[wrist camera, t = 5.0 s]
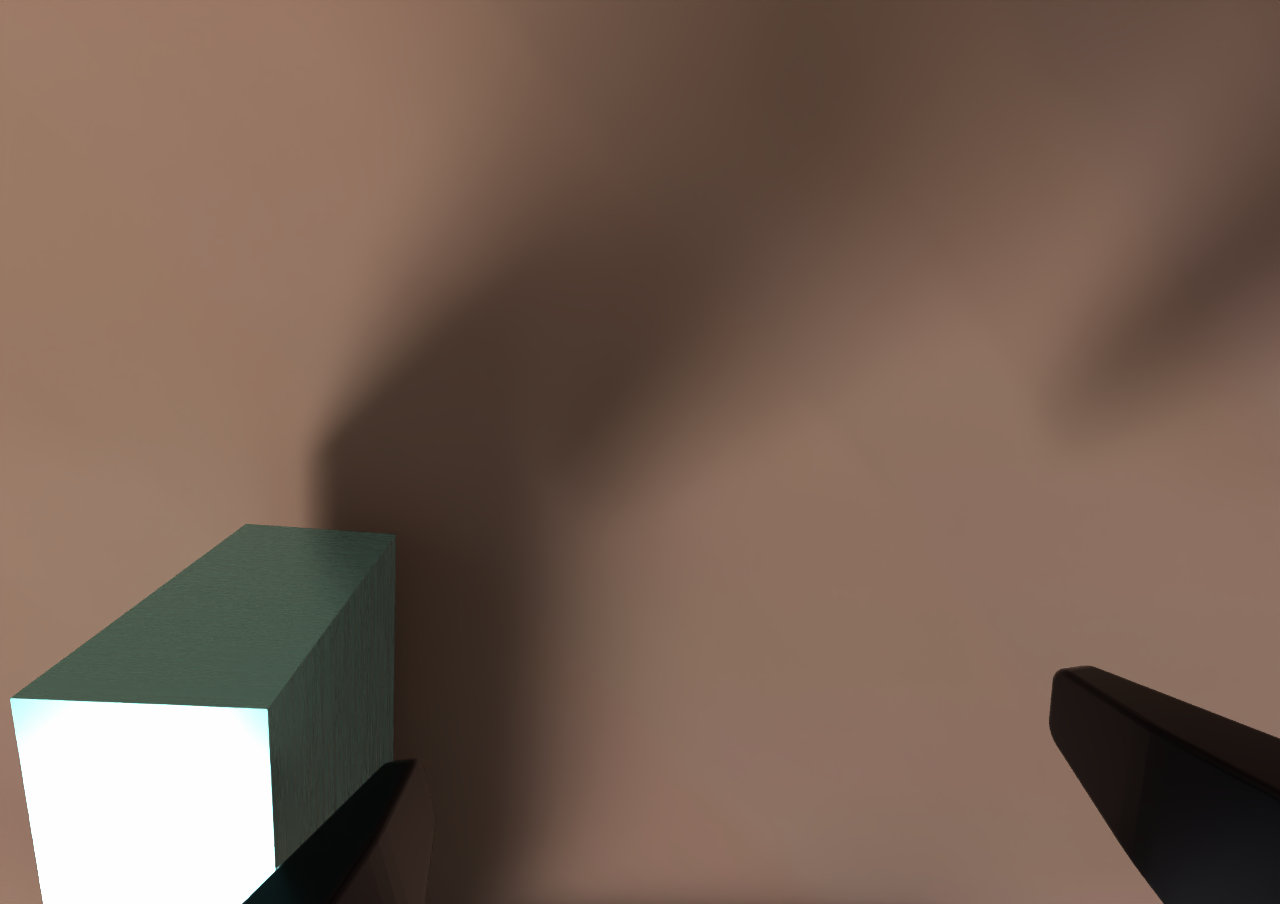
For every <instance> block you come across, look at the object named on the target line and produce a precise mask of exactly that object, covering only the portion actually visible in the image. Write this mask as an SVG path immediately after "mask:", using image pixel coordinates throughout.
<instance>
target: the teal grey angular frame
mask: <svg viewBox="0 0 1280 904" xmlns="http://www.w3.org/2000/svg"><path fill="white" fill-rule="evenodd" d="M395 556H396V534H384V533H369V532H355V531H340V530H326V529H311V528H297V527H282V526H268V525H253V524H245V525H244V526H243V527H241V528H240V529H239V530H237V531H236V532H234V533H233V534H232V535H230V536H229V537H228V538H226V539H225V540H224V541H222V542H221V543H220V544H218V545H217V546H216V547H214V548H213V549H211V550H210V551H209V552H207V553H206V554H205V555H203V556H202V557H201V558H199V559H198V560H197V561H195V562H194V563H193V564H191V565H190V566H188V567H187V568H186V569H184V570H183V571H182V572H180V573H179V574H178V575H176V576H175V577H174V578H172V579H171V580H170V581H168V582H167V583H165V584H164V585H163V586H161V587H160V588H159V589H157V590H156V591H155V592H153V593H152V594H151V595H149V596H148V597H147V598H145V599H144V600H142V601H141V602H140V603H138V604H137V605H136V606H134V607H133V608H132V609H130V610H129V611H128V612H126V613H125V614H124V615H122V616H121V617H120V618H118V619H117V620H115V621H114V622H113V623H111V624H110V625H109V626H107V627H106V628H105V629H103V630H102V631H101V632H99V633H98V634H97V635H95V636H94V637H92V638H91V639H90V640H88V641H87V642H86V643H84V644H83V645H82V646H80V647H79V648H78V649H76V650H75V651H74V652H72V653H71V654H69V655H68V656H67V657H65V658H64V659H63V660H61V661H60V662H59V663H57V664H56V665H55V666H53V667H52V668H51V669H49V670H48V671H46V672H45V673H44V674H42V675H41V676H40V677H38V678H37V679H36V680H34V681H33V682H32V683H30V684H29V685H28V686H26V687H25V688H23V689H22V690H21V691H19V692H18V693H17V694H15V695H14V696H13V697H11V698H10V700H11V706H12V713H13V719H14V725H15V731H16V737H17V743H18V749H19V755H20V762H21V768H22V774H23V780H24V786H25V792H26V798H27V804H28V811H29V817H30V823H31V829H32V835H33V841H34V847H35V853H36V860H37V866H38V872H39V878H40V884H41V890H42V896H43V902H44V904H242V903H243V902H244V901H245V900H246V899H247V898H248V897H249V896H250V895H251V894H252V893H253V892H254V891H255V890H256V889H257V888H258V887H259V886H260V885H261V884H262V883H263V882H264V881H265V880H266V879H267V878H268V877H269V876H270V875H271V874H272V873H273V872H274V871H275V870H276V869H277V868H278V867H279V866H280V865H281V864H282V863H283V862H284V861H285V860H286V859H287V858H288V857H289V856H290V855H291V854H292V853H293V852H294V851H295V850H296V849H297V848H298V847H300V846H301V845H302V844H303V843H304V842H305V841H306V840H307V839H308V838H309V837H310V836H311V835H312V834H313V833H314V832H315V831H316V830H317V829H318V828H319V827H320V826H321V825H322V824H323V823H324V822H325V821H326V820H327V819H328V818H329V817H330V816H331V815H332V814H333V813H334V812H335V811H336V810H337V809H338V808H339V807H340V806H341V805H342V804H343V803H344V802H345V801H346V800H347V799H348V798H349V797H350V796H351V795H352V794H353V793H354V792H355V791H356V790H357V789H358V788H359V787H361V786H362V785H363V784H364V783H365V782H366V781H367V780H368V779H369V778H370V777H371V776H372V775H373V774H374V773H375V772H376V771H377V770H378V769H379V768H380V767H381V766H382V765H383V764H385V763H387V762H391V761H393V732H394V644H395Z"/></svg>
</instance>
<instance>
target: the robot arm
mask: <svg viewBox="0 0 1280 904" xmlns="http://www.w3.org/2000/svg"><path fill="white" fill-rule="evenodd" d="M1049 726H1050V731H1051V735H1052V737H1053V739H1054V741H1055V743H1056V745H1057V747H1058V748H1059V750H1060V751H1061V753H1062V754H1063V756H1064V758H1065V759H1066V761H1067V762H1068V764H1069V765H1070V767H1071V769H1072V770H1073V772H1074V773H1075V775H1076V776H1077V778H1078V779H1079V781H1080V783H1081V784H1082V786H1083V787H1084V789H1085V790H1086V792H1087V793H1088V795H1089V797H1090V798H1091V800H1092V801H1093V803H1094V804H1095V806H1096V808H1097V809H1098V811H1099V812H1100V814H1101V815H1102V817H1103V818H1104V820H1105V822H1106V823H1107V825H1108V826H1109V828H1110V829H1111V831H1112V832H1113V834H1114V836H1115V837H1116V839H1117V840H1118V842H1119V843H1120V845H1121V846H1122V848H1123V849H1124V851H1125V852H1126V853H1127V855H1128V856H1129V858H1130V859H1131V861H1132V862H1133V863H1134V865H1135V866H1136V868H1137V869H1138V870H1139V872H1140V873H1141V874H1142V876H1143V877H1144V878H1145V880H1146V881H1147V882H1148V884H1149V885H1150V886H1151V888H1152V889H1153V890H1154V892H1155V893H1156V894H1157V896H1158V897H1159V898H1160V899H1161V901H1162V902H1163V903H1164V904H1280V738H1277V737H1274V736H1272V735H1269V734H1267V733H1264V732H1261V731H1259V730H1256V729H1254V728H1251V727H1249V726H1246V725H1243V724H1241V723H1238V722H1236V721H1233V720H1230V719H1228V718H1225V717H1223V716H1220V715H1218V714H1215V713H1212V712H1210V711H1207V710H1205V709H1202V708H1199V707H1197V706H1194V705H1192V704H1189V703H1187V702H1184V701H1181V700H1179V699H1176V698H1174V697H1171V696H1168V695H1166V694H1163V693H1161V692H1158V691H1156V690H1153V689H1150V688H1148V687H1145V686H1143V685H1140V684H1137V683H1135V682H1132V681H1130V680H1127V679H1125V678H1122V677H1119V676H1117V675H1114V674H1112V673H1109V672H1106V671H1104V670H1101V669H1099V668H1096V667H1093V666H1078V667H1071V668H1064V669H1060V670H1059V671H1057V672H1056V673H1055V675H1054V677H1053V683H1052V694H1051V705H1050V715H1049ZM434 830H435V815H434V808H433V804H432V800H431V796H430V792H429V788H428V784H427V780H426V776H425V772H424V768H423V765H422V764H421V762H420V761H419V760H417V759H415V758H412V759H405V760H398V761H391V762H387V763H385V764H383V765H382V766H381V767H380V768H379V769H378V770H377V771H376V772H375V773H374V774H373V775H372V776H371V777H370V778H369V779H368V780H367V781H366V782H365V783H364V784H363V785H362V786H361V787H359V788H358V789H357V790H356V791H355V792H354V793H353V794H352V795H351V796H350V797H349V798H348V799H347V800H346V801H345V802H344V803H343V804H342V805H341V806H340V807H339V808H338V809H337V810H336V811H335V812H334V813H333V814H332V815H331V816H330V817H329V818H328V819H327V820H326V821H325V822H324V823H323V824H322V825H321V826H320V827H319V828H318V829H317V830H316V831H315V832H314V833H313V834H312V835H311V836H310V837H309V838H308V839H307V840H306V841H305V842H304V843H303V844H302V845H301V846H300V847H298V848H297V849H296V850H295V851H294V852H293V853H292V854H291V855H290V856H289V857H288V858H287V859H286V860H285V861H284V862H283V863H282V864H281V865H280V866H279V867H278V868H277V869H276V870H275V871H274V872H273V873H272V874H271V875H270V876H269V877H268V878H267V879H266V880H265V881H264V882H263V883H262V884H261V885H260V886H259V887H258V888H257V889H256V890H255V891H254V892H253V893H252V894H251V895H250V896H249V897H248V898H247V899H246V900H245V901H244V902H243V903H242V904H424V901H425V894H426V887H427V880H428V873H429V866H430V859H431V852H432V845H433V838H434Z"/></svg>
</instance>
